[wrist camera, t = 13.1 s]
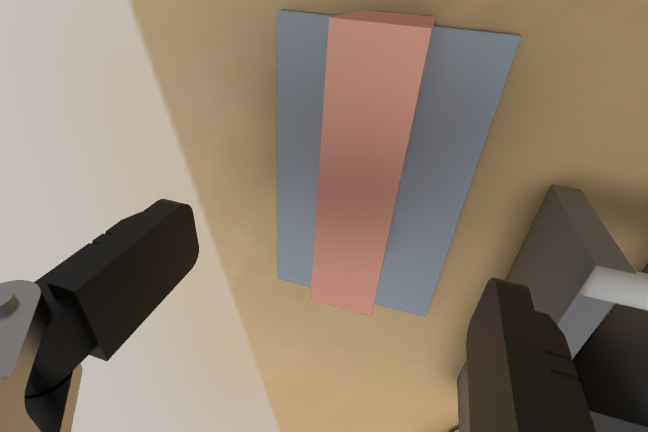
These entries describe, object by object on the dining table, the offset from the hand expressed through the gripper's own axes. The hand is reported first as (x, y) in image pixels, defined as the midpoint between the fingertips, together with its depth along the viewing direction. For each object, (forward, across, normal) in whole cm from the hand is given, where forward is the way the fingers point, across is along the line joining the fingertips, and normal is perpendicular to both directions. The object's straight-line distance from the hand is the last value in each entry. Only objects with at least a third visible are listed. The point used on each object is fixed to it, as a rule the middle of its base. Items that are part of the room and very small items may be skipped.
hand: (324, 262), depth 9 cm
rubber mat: (+10, 0, +3) cm, 11 cm away
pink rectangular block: (+10, 0, +1) cm, 10 cm away
